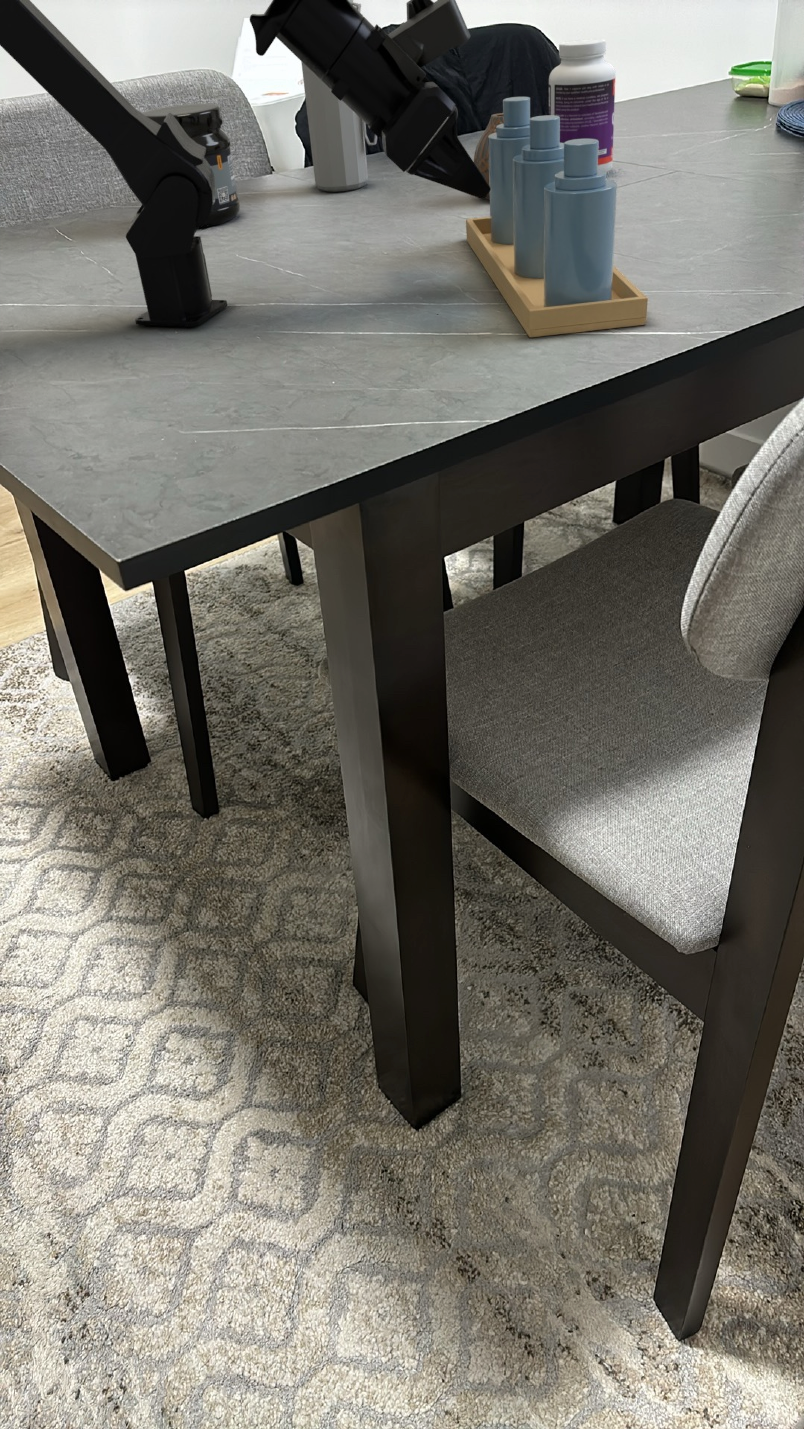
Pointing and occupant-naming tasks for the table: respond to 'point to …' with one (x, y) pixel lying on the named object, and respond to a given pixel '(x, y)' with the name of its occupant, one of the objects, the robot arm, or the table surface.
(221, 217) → the supplement container
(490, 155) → the bottle
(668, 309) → the table surface
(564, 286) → the bottle
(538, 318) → the tray
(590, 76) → the pill bottle
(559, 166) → the loose bottle
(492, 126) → the vase
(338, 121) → the water bottle
